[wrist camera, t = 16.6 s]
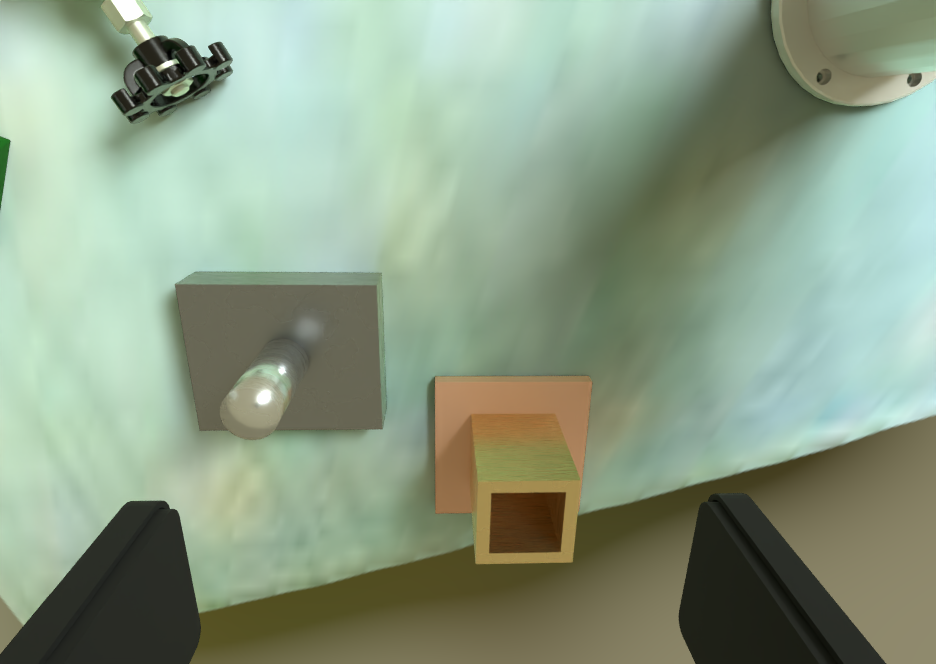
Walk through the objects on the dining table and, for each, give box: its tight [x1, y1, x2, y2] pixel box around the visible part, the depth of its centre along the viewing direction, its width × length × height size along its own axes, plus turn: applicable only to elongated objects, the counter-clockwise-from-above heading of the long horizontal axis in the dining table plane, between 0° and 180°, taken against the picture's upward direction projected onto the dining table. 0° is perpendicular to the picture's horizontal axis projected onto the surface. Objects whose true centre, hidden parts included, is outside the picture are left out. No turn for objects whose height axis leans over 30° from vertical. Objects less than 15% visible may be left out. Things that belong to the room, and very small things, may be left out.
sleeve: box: [470, 414, 581, 564], centre depth 37 cm, size 6×6×8 cm
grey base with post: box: [175, 272, 387, 440], centre depth 34 cm, size 12×10×10 cm
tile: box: [435, 376, 592, 514], centre depth 42 cm, size 11×11×1 cm
